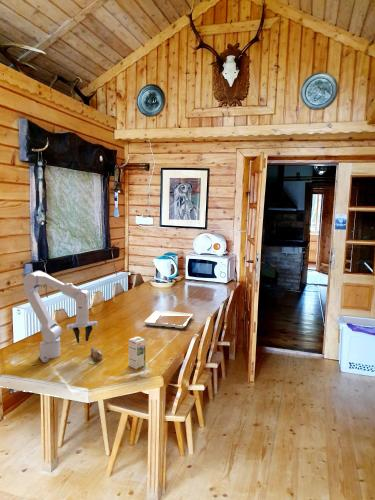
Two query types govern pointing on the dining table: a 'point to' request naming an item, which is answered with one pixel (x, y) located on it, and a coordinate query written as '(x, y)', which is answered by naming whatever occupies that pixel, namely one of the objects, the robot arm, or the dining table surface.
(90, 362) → the pale green tile
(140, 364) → the syrup box
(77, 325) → the robot arm
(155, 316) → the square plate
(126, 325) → the dining table surface
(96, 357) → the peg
